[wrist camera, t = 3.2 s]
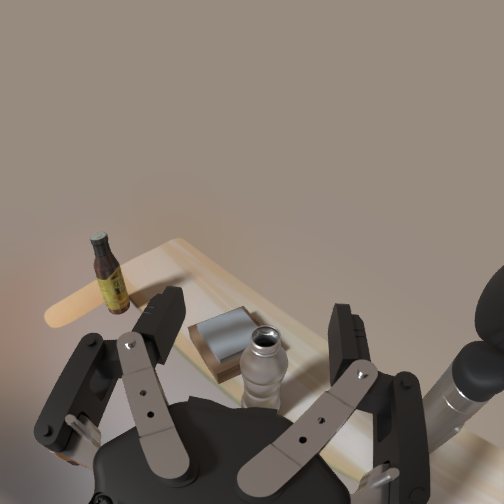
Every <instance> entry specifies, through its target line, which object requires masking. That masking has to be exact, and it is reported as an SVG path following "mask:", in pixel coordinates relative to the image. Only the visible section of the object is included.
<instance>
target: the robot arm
mask: <svg viewBox="0 0 504 504" xmlns="http://www.w3.org/2000/svg"><path fill="white" fill-rule="evenodd" d="M185 315H186V307H185V302H184V296H183V291H182V288H181V287H174V286H167V287H166V289H165V290H164V292H163V294H157V295H156V296H154V297H153V298H152V299H151V300H150V302H149V303H148V305H147V307H146V308H145V310H144V312H143V313H142V315H141V316H140V318H139V319H138V321H137V323H136V325H135V326H134V328H133V330H132V331H131V332H127V333H124V334H123V335H121V336H120V337H119V338H118V340H103V338H102V336H101V335H100V334H98V333H89V334H87V335H85V336H84V337H83V338H82V339H81V341H80V342H79V344H78V345H77V347H76V349H75V351H74V352H73V354H72V356H71V357H70V359H69V361H68V363H67V364H66V366H65V368H64V370H63V372H62V373H61V375H60V377H59V379H58V381H57V382H56V384H55V386H54V388H53V390H52V392H51V394H50V396H49V398H48V400H47V401H46V404H45V406H44V408H43V410H42V412H41V414H40V416H39V418H38V420H37V422H36V424H35V427H34V436H35V438H36V440H37V441H38V442H39V443H40V444H42V445H43V446H44V447H46V448H47V449H48V450H49V451H50V452H52V453H53V454H55V455H56V456H58V457H59V458H61V459H63V460H65V461H67V462H68V463H70V464H72V465H81V466H84V467H85V468H88V469H90V470H92V471H93V472H94V479H95V490H94V495H93V497H92V499H91V501H90V502H89V503H88V504H427V502H428V500H429V498H430V465H429V453H431V452H432V451H434V450H435V449H437V448H438V447H440V446H441V445H442V444H444V443H445V442H446V441H448V440H449V439H451V438H452V437H453V436H454V435H456V434H457V433H458V432H459V431H460V430H461V428H462V427H463V425H464V423H465V422H466V421H467V420H468V419H470V418H471V417H472V416H473V415H474V414H475V413H476V412H477V411H478V410H480V409H481V408H482V407H483V406H484V405H485V404H486V403H487V402H488V401H489V400H490V399H491V398H492V397H493V396H494V395H495V394H498V393H500V392H502V391H503V390H504V266H503V267H501V268H500V269H499V270H498V271H497V272H496V273H495V275H494V276H493V277H492V278H491V279H490V281H489V282H488V283H487V285H486V287H485V289H484V290H483V292H482V294H481V296H480V299H479V301H478V304H477V307H476V312H475V328H476V331H477V333H478V335H479V337H480V338H481V339H482V340H483V341H474V342H471V343H469V344H467V345H466V346H465V347H463V348H462V350H461V351H460V352H459V354H458V355H457V356H456V358H455V359H454V361H453V362H452V363H451V365H450V366H449V367H448V369H447V370H446V371H445V372H444V374H443V375H442V376H441V378H440V379H439V380H438V381H437V382H436V384H435V385H434V386H433V387H432V389H431V390H430V391H429V392H428V393H427V394H426V396H425V397H424V398H423V399H422V395H421V391H420V384H419V381H418V379H417V377H416V376H415V375H414V374H412V373H410V372H405V371H404V372H400V373H398V374H397V375H396V376H391V375H388V374H384V373H381V372H379V371H378V370H377V368H376V366H375V365H374V364H373V363H371V360H370V354H369V348H368V343H367V338H366V333H365V328H364V323H363V321H362V320H361V318H360V317H359V315H354V314H353V315H352V314H351V310H350V305H349V304H336V303H335V305H334V308H333V312H332V315H331V319H330V323H329V328H328V344H329V361H330V383H331V389H330V390H329V391H325V392H324V393H323V394H322V395H321V396H320V397H319V398H318V399H317V400H316V401H315V402H314V404H313V405H312V406H311V407H310V408H309V409H308V410H307V411H306V412H305V413H304V414H303V415H302V416H301V417H300V418H299V419H298V420H297V421H296V422H295V423H293V422H292V421H290V420H289V419H287V418H285V417H283V416H280V415H277V412H278V409H271V408H262V407H248V408H236V409H232V408H228V407H226V406H224V405H221V404H219V403H216V402H214V401H211V400H207V399H203V398H197V397H192V396H189V399H188V401H185V402H178V403H175V404H172V405H169V403H168V401H167V399H166V396H165V394H164V391H163V389H162V386H161V384H160V381H159V378H158V376H157V373H156V370H155V367H156V364H157V363H159V364H163V365H164V364H165V362H166V359H167V357H168V355H169V353H170V350H171V348H172V346H173V344H174V341H175V339H176V337H177V335H178V332H179V330H180V328H181V326H182V324H183V321H184V319H185ZM118 378H122V380H123V384H124V388H125V391H126V395H127V398H128V402H129V405H130V409H131V412H132V415H133V418H134V421H135V424H136V426H135V427H133V428H131V429H130V430H128V431H126V432H125V433H123V434H121V435H119V436H118V437H116V438H114V439H112V440H111V441H109V442H107V443H105V444H104V445H102V446H101V445H100V444H101V432H100V430H99V429H98V426H99V423H100V421H101V418H102V416H103V413H104V411H105V408H106V406H107V404H108V401H109V399H110V396H111V394H112V392H113V389H114V387H115V385H116V382H117V380H118ZM356 409H358V410H361V411H365V412H368V413H372V414H373V469H372V470H371V471H369V472H367V473H366V474H365V475H364V476H363V477H362V479H361V481H360V484H359V487H358V489H357V491H356V492H355V493H354V494H349V491H348V489H347V488H346V486H345V485H344V484H343V483H342V481H341V480H340V479H339V478H338V477H337V475H336V474H335V473H334V472H333V471H332V469H331V468H330V467H329V466H328V464H327V463H326V462H325V461H324V459H323V458H322V457H321V456H320V454H319V453H320V452H321V451H322V450H323V449H324V448H325V447H326V445H327V444H328V443H329V442H330V441H331V440H332V438H333V437H334V436H335V435H336V434H337V432H338V431H339V430H340V429H341V428H342V426H343V425H344V424H345V423H346V421H347V420H348V419H349V418H350V416H351V415H352V414H353V413H354V411H355V410H356Z"/></svg>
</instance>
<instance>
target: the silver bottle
mask: <svg viewBox="0 0 504 504" xmlns="http://www.w3.org/2000/svg"><path fill="white" fill-rule="evenodd" d="M287 368H288V358H287V354H286V352H285V350H284V349H283V348H282V347H281V334H280V332H279V331H278V329H276V328H275V327H273V326H269V325H263V326H259V327H257V328H255V329H254V330H253V331H252V333H251V337H250V345H249V346H248V347H247V348H246V349H245V350H244V351H243V353H242V355H241V358H240V369H241V373H242V377H243V380H244V393H243V396H242V400H241V408H248V407H262V408H271V409H278V411H279V409H280V395H279V389H280V386H281V382H282V380H283V378H284V376H285V374H286V371H287ZM277 413H278V412H277Z"/></svg>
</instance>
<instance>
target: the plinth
mask: <svg viewBox="0 0 504 504" xmlns="http://www.w3.org/2000/svg"><path fill="white" fill-rule="evenodd" d="M259 326H261V325H260V324H259V323H258V322H257V321H256V319H255V318H254V317H253V316H252V315H251V314H250V313H249V312H248V310H247V309H246V308H245V307H244V306H242V307H239V308H237V309H234V310H232V311H229V312H227V313H224V314H221V315H219V316H216V317H214V318H211V319H208V320H206V321H203V322H200V323H198V324H195V325H192V326H190V327H188V329H189V334H190V338H191V340H192V342H193V344H194V345H195V347H196V349H197V350H198V352H199V354H200V355H201V357H202V358H203V360H204V362H205V363H206V365H207V367H208V368H209V370H210V371H211V373H212V374H213V376H214V378H215V379H216V381H217V382H218V384H220V383H222V382H224V381H226V380H228V379H231V378H233V377H235V376H237V375H239V374H241V369H240V358H241V355H242V353H243V351H244V350H245V349H246V348H247V347H248V346H249V345H250V337H251V333H252V331H253V330H254V329H255V328H257V327H259Z"/></svg>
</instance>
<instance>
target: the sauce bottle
mask: <svg viewBox="0 0 504 504" xmlns="http://www.w3.org/2000/svg"><path fill="white" fill-rule="evenodd" d="M90 240H91V243H92V245H93V248H94V252H95V256H96V257H95V261H94V269H95V272H96V276H97V280H98V283H99V286H100V289H101V292H102V295H103V298H104V300H105V303H106V306H107V307H108V309H109V311H110V312H111V313H112V314H122V313H124V312H125V311H127V310H128V308H129V307H130V302H129V296H128V293H127V290H126V286H125V283H124V279H123V276H122V272H121V268H120V265H119V263H118V261H117V260H116V258H115V257H114V255H113V254H112V252H111V249H110V247H109V243H108V236H107V233H105V232H99V233H96V234H93V235H92V236H91V237H90Z"/></svg>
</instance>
